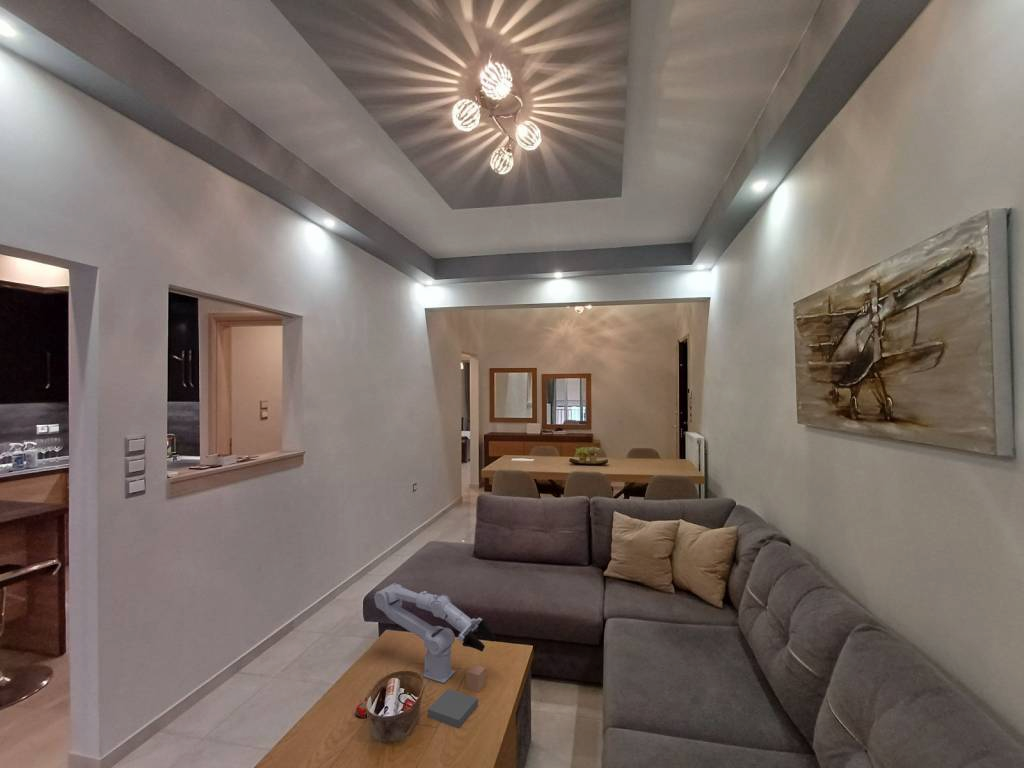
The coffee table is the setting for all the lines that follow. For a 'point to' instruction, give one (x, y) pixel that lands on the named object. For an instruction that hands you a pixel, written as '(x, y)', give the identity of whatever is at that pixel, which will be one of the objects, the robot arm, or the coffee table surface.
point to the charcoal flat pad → (453, 708)
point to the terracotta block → (475, 678)
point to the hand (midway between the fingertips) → (488, 643)
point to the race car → (361, 710)
